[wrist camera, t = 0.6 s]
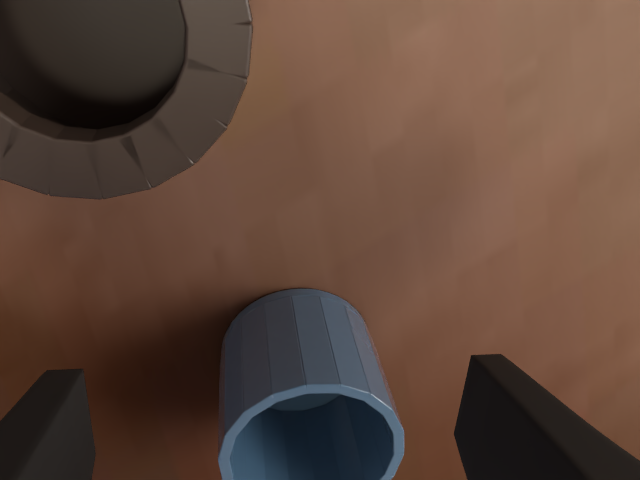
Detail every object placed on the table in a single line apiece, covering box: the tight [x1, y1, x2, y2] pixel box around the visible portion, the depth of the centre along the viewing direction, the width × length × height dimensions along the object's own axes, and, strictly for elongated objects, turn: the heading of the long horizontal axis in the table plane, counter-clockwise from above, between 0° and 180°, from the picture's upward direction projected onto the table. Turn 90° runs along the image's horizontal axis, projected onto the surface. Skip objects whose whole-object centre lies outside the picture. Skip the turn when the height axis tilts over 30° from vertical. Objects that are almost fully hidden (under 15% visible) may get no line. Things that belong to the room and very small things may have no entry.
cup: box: [218, 288, 404, 480], centre depth 21 cm, size 6×6×5 cm
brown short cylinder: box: [0, 0, 253, 199], centre depth 15 cm, size 8×8×4 cm
